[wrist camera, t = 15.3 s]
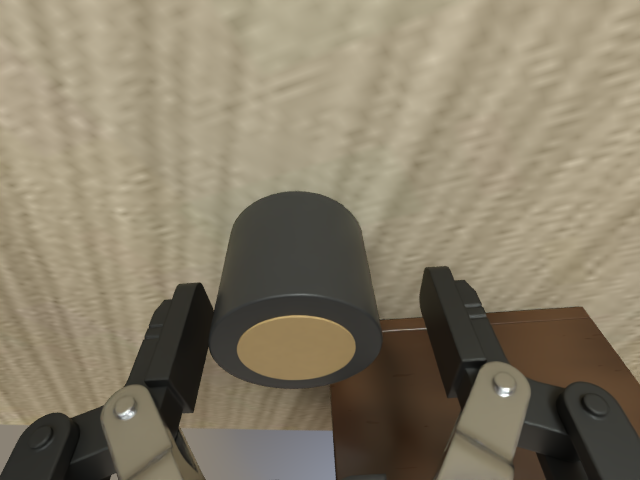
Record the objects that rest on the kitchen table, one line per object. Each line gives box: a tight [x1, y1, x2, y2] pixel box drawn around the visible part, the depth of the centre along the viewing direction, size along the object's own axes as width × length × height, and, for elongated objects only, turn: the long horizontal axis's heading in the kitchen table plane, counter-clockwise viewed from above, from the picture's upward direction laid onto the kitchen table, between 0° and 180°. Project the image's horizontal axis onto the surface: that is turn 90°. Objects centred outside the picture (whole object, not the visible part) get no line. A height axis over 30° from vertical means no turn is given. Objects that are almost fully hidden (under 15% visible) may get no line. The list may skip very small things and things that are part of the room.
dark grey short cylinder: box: [208, 191, 383, 389], centre depth 13 cm, size 6×6×5 cm
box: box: [330, 307, 640, 480], centre depth 20 cm, size 14×11×8 cm
